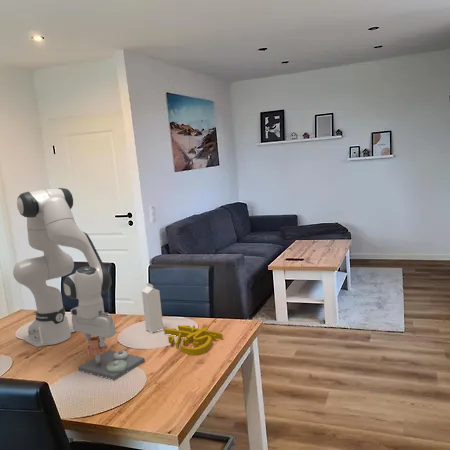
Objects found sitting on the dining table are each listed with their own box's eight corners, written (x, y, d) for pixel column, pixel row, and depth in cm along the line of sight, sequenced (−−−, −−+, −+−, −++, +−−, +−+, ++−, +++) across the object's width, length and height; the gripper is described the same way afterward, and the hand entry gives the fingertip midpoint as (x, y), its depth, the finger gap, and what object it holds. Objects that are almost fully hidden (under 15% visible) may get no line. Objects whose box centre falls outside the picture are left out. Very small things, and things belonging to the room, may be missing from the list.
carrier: (78, 370, 164) (76, 355, 163) (110, 353, 177) (108, 339, 176) (114, 380, 154) (112, 364, 153) (145, 361, 167) (143, 347, 166)
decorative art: (197, 351, 167) (144, 337, 185) (197, 358, 167) (145, 343, 185) (229, 332, 183) (178, 321, 201) (229, 338, 184) (178, 327, 202)
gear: (97, 344, 170) (96, 333, 169) (111, 347, 165) (110, 336, 165) (81, 352, 163) (79, 341, 162) (95, 356, 159) (94, 344, 158)
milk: (151, 333, 195) (146, 286, 192) (145, 330, 200) (140, 284, 197) (163, 329, 199) (158, 283, 196) (157, 326, 204) (152, 281, 201)
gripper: (117, 310, 159) (121, 345, 161) (80, 304, 170) (84, 337, 172) (104, 316, 154) (109, 352, 156) (67, 309, 165) (71, 344, 167)
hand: (96, 344), depth 164 cm, fingers closed on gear, 5 cm apart
